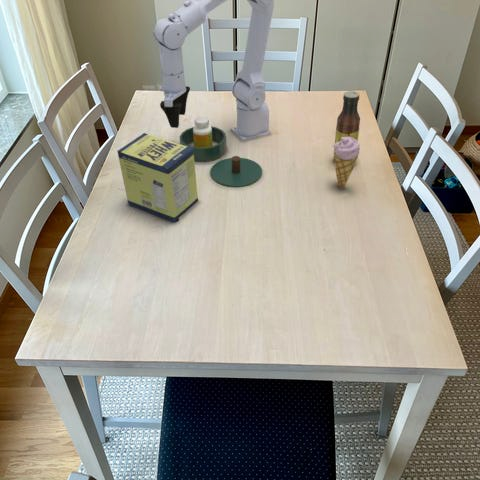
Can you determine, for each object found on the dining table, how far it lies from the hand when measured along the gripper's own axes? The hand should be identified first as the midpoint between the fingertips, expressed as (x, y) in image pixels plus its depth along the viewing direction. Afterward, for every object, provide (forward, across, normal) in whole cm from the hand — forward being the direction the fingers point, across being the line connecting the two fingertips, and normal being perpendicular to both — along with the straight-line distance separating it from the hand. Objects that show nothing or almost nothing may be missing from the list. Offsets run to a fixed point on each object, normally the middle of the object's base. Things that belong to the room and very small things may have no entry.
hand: (177, 120), depth 139 cm
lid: (+10, +9, +18) cm, 22 cm away
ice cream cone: (+10, +11, +47) cm, 49 cm away
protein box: (+10, +25, +1) cm, 27 cm away
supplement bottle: (+10, -2, +6) cm, 12 cm away
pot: (+10, -2, +6) cm, 12 cm away
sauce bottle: (+10, -2, +47) cm, 48 cm away
